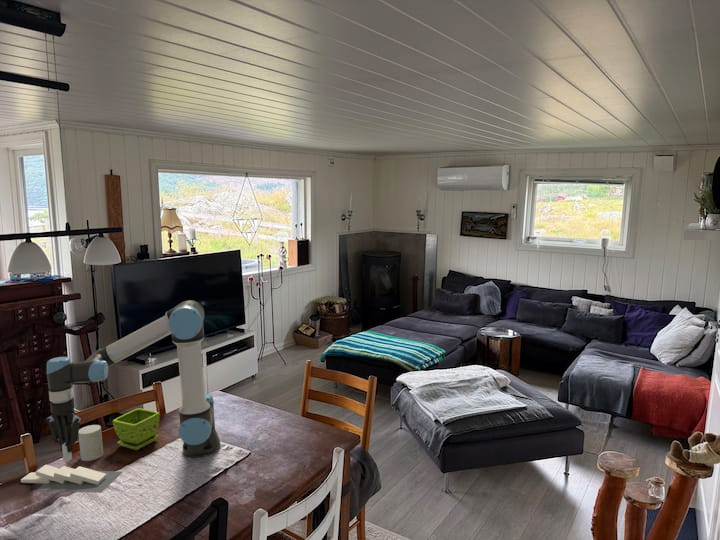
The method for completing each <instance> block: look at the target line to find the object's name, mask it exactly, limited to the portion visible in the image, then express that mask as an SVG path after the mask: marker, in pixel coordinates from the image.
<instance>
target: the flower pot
mask: <svg viewBox="0 0 720 540" xmlns="http://www.w3.org/2000/svg"><path fill="white" fill-rule="evenodd" d="M160 419H161V414H160V412H158V411H156V410H155V411H154V410H151V409H146V408H141V407H140V408H139V407H138V408H135V409H133V410H131V411H129V412H126V413H125V414H122V415H120V416H118V417H116V418H115V419H113V420H112V425H113V429H114V432H115V434H116V435H117V437H118V438H119V439H120V440H118V441H117V444H118V445H120V446H121V447H124V448H127V449H131V450H134V451H139V450H140V449H141V448H144V447H146V446H147V445H149V444H151V443H153V442H154V441H156V440H157V439H158V438H159V435H158V434H157V432H158V429H159V427H160V421H161V420H160Z"/></svg>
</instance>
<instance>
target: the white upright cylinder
mask: <svg viewBox="0 0 720 540" xmlns="http://www.w3.org/2000/svg"><path fill="white" fill-rule="evenodd" d="M78 443H79V453H80V454H79V455H80V460H81V461H83V462H91V461H95V460H97V459H99V458H101V457H102V456H103V455H104V446H103V436H102V426H101V425H100V424H91V425H90V424H89V425H86V426H83V427H81V428H79V432H78Z"/></svg>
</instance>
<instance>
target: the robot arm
mask: <svg viewBox="0 0 720 540" xmlns="http://www.w3.org/2000/svg"><path fill="white" fill-rule="evenodd" d="M204 320H205V309H204V307H203V306H202V305H201V304H200V302H197V300H196V301H195V300H191V299H189V300H184V301H181V302H180V303H178V304H177V305H176V306H174V307H173V308H171V309H169V310H167V311H166V312H165V315H163V316H162V317H159V318H158V319H156V320H154V321H152V322H150V323H149V324H146V325H144V326H142V327H141V328H139V329H137V330H136V331H133V332H131V333H129V334H128V335H126V336H124V337H122V338H120V339H118V340H117V341H115V342H112V343H110V344H109V345H107V346H105V347H103V348H99V349H97V350H96V351H94V352H93V353H92V354H91V355H90V356H89V357H88V358H87V359H86V360H85V361H79V362H78V361H77V362H76V361H75V362H74V361H73V362H72V361H71V358H70V357H69V356H58V357H57V356H56V357H53V358H51V359H49V360H47V362H46V379H47V385H48V386H47V387H48V398H49V404H50V407H49V408H50V412H51V413H50V416H48V417H47V418H46V419H45V418H44V419H45V420H44V421H45V422H46V424H47V425H48V427H49V431H50V433H51V436H52V439H53V442H54V443H55V444H59V447H60V452H61V453H62V460H63V462H64V463H68V462H70V460H72V459H73V454H72V453H73V451H74V447H73V444H74V443H76V442H77V440H79V435H78V432H79V430H80V423H81V422H82V420H83V417H82V416H81V415H80V416H78V415H76V412H75V398H74V389H73V386H74V385H73V384H81V383H97V382H101V381H105V380H106V379H108V375H109V368H110V367H112V366H114V365H115V364H117V363H118V362H120V361H122V360H124V359H126V358H128V357H130V356H132V355H134V354H135V353H137V352H139V351H141V350H142V349H145V348H147V347H149V346H150V345H153V344H155V343H156V342H158V341H160V340H162V339H164V338H166V337H168V336H169V335H171V340H172V341H171V342H172V343H173V344H175V345H176V348H177V349H176V350H177V360H178V371H179V378H180V379H179V380H180V391H181V393H180V394H181V402H182V403H181V404H182V405H181V406H179V408H178V412H179V413H178V414H179V427H178V434H179V439H180V440H181V441H182V442H183V444H182V453H183V455H184V456H186V457H189V458H203V457H206V456H210V455H213V454H214V453H216V452H218V451H219V450H220V448H221V439H220V437H219V435H218V432H217V430H216V424H215V423H216V422H215V421H216V420H215V405H214V403H215V401H214V396H213V395H211V394H207V393H206V388H205V379H204V378H205V376H204V365H203V354H202V342H203V340H204V339H205V329H204Z"/></svg>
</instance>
